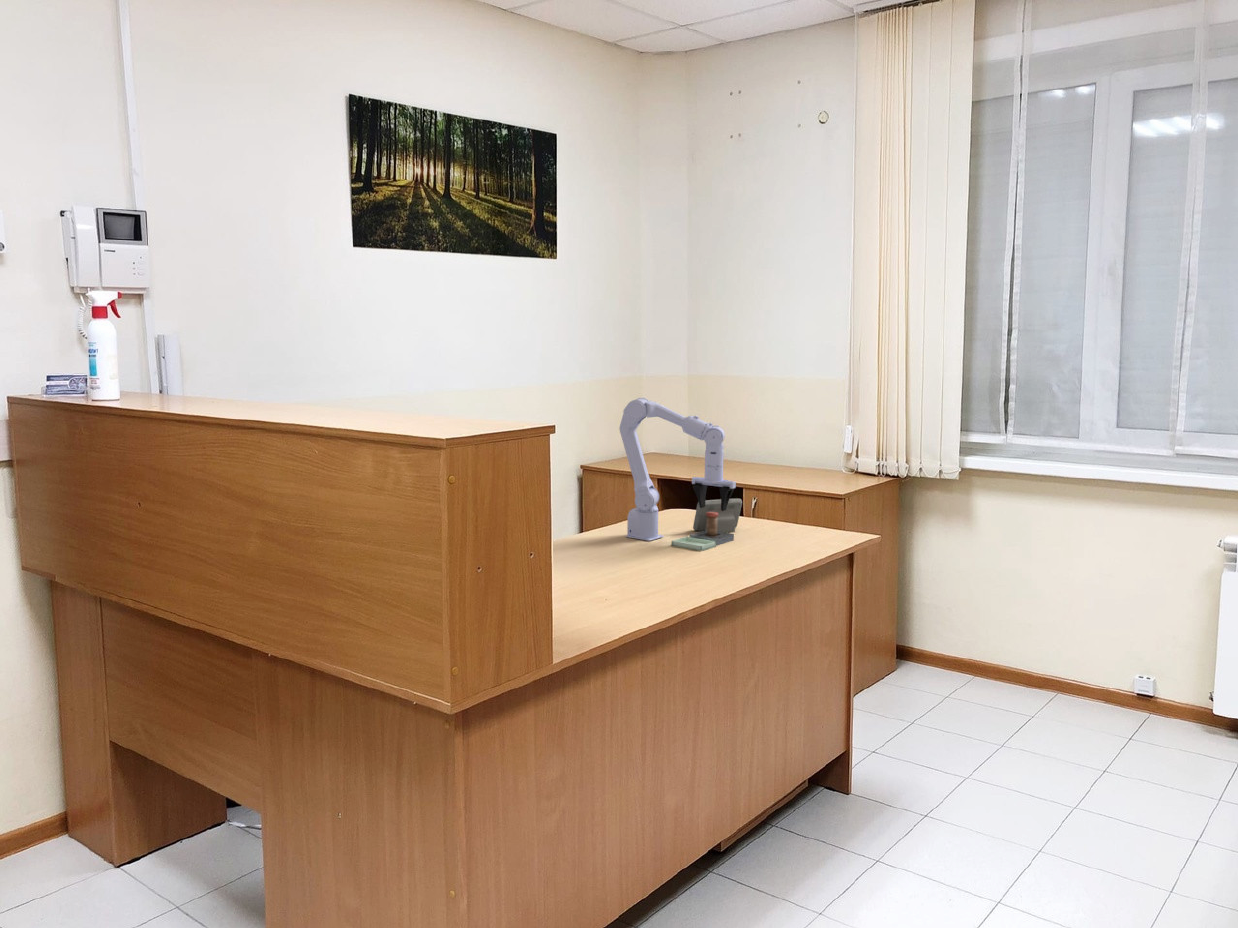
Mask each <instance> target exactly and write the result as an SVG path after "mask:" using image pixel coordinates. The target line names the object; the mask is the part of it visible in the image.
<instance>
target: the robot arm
mask: <svg viewBox="0 0 1238 928" xmlns="http://www.w3.org/2000/svg"><path fill="white" fill-rule="evenodd" d="M646 418H647V419H648V418H660V419H663V420H664V421H667V422H670V423H672V424H675V425H677V426H679V427H681V428H682V431H683V433H684V434H686V435H689V436H691V437H694V438H695V439H697V440H700V441H704V443H705V453H704V477H699V476H694V477H691V484H692V485H693V486H692V488H693V491H694V493H695V495H696V497H697V500H698V501H697V502H699V506H700V508H703V507H705V500H707V499H706V496H707V495H706V494H707V490H708V487H709V486H711V487H712V486H713V487H719V494H720V500H721V511H725V510H726V509H727V505H728V502H729V499H731V497H732V495H733V493H734V491H735V489H736V488H737V486H736V485H737V482H736V481H734V480H728V479H724V457H725V456H724V453H725V452H724V447H725V446H724V440H725V437H726V433H725V431H724V429H723V428H722V427H720V426H719V425H714V423H713V422H706V421H705V420H702V419H700V416H699V415H697V414H696V415H694V416H693V415H689V416H684V415H682V414H680V413H679V412H676V411H674V410H672V409H670V408H668V407H666V405H665V406H664V405H662V404H661V403H659V402H656V401H653V400H648V399H647V398H645V397H638V398H636V399H633V400H630V401H629V402H628V404H627V405H626V406H625V407H624V408H623V413H622V417H621V421H620V424H619V428H618V429H619V433H620V436H621V440H622V443H623V447H624V451H625V454H626V457H627V462H628V465H629V469H630V472H631V475H632V478H633V483H634V484H633V485H634V488H633V490H634V496H635V497H634V505H635V507H634V508H632V509H630V510H629V511H628V514H627V525H626V526H627V527H626V528H627V530H626V531H627V532H626V535H625V537H626V538H631V539H637V540H641V541H646V542H647V541H648V542H650V541H653V540H658V539H661V538H664V536H665V535H663V534H659V508H658V506H657V504H658V503H659V501H660V493H659V491H658V489H657V488H655V486H654V482H653V481H652V479H651V478H650V475H649V471H648V467H647V464H646V460H645V457H644V454H643V453H644V452H643V449H642V447H641V443H640V439H639V435H638V433H637V430H638V428H639V426H640V424H641V423H642V422H643V420H645V419H646Z"/></svg>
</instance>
